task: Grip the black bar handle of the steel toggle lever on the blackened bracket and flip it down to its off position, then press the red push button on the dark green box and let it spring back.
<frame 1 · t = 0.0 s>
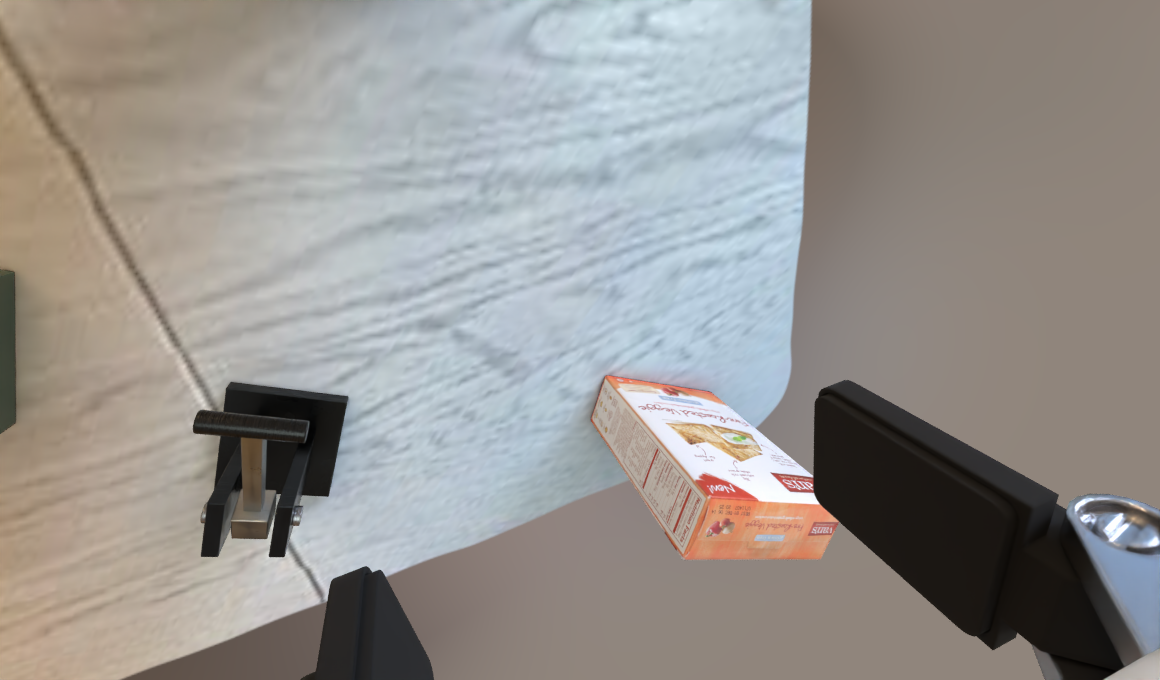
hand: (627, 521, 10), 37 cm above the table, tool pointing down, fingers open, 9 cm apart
switch lever: (254, 478, 32), point 12 cm above the table, hinge at 25.0°
switch bracket: (283, 439, 44), on the table
cracker box: (650, 402, 56), on the table
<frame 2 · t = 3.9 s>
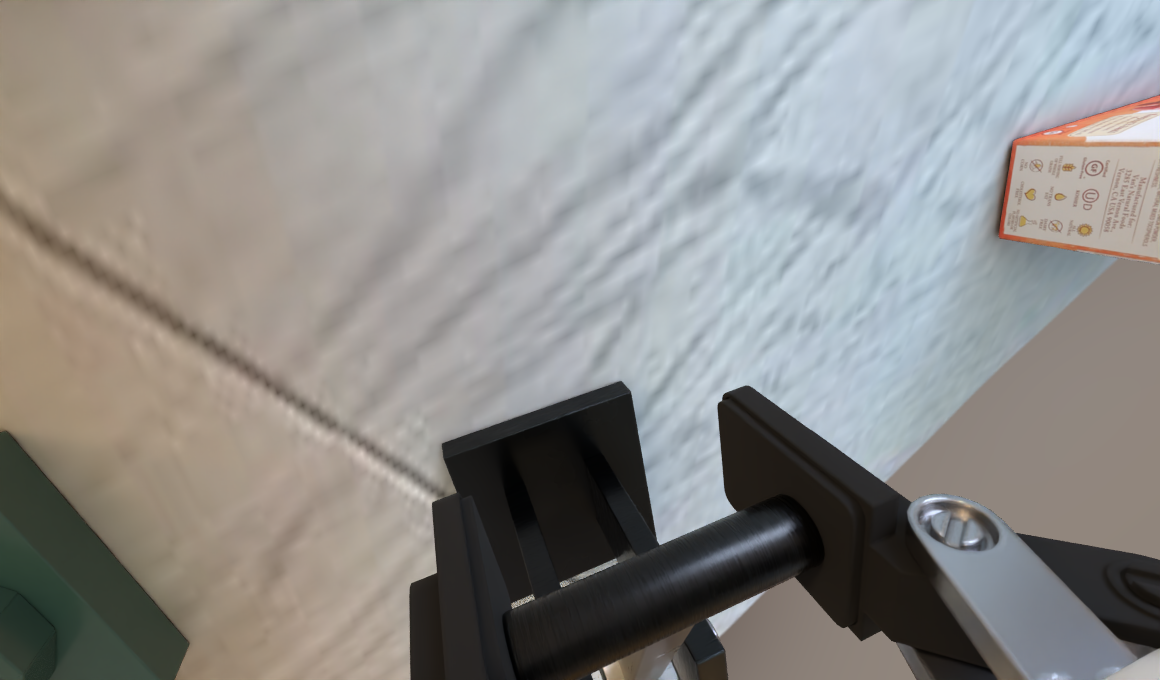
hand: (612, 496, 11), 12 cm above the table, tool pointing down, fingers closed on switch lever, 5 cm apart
switch lever: (645, 647, 13), point 12 cm above the table, hinge at 25.0°, touching gripper
switch bracket: (557, 489, 26), on the table
cracker box: (1085, 158, 29), on the table
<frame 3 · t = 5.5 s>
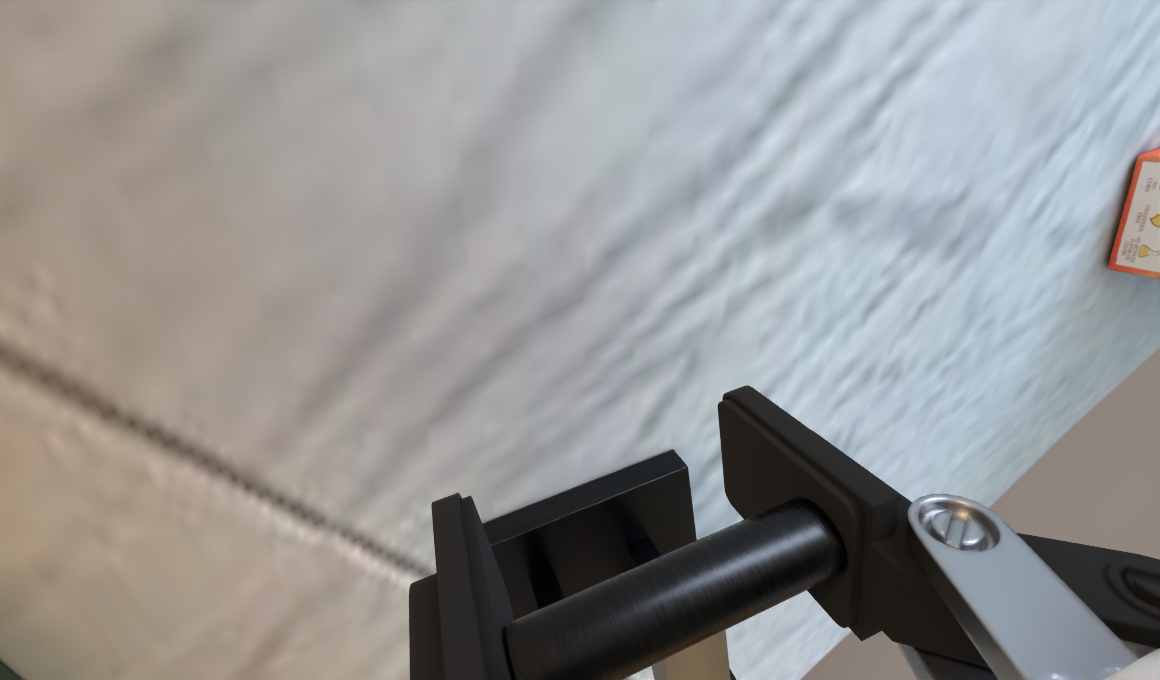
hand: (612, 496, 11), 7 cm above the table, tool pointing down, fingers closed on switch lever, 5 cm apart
switch bracket: (592, 575, 21), on the table
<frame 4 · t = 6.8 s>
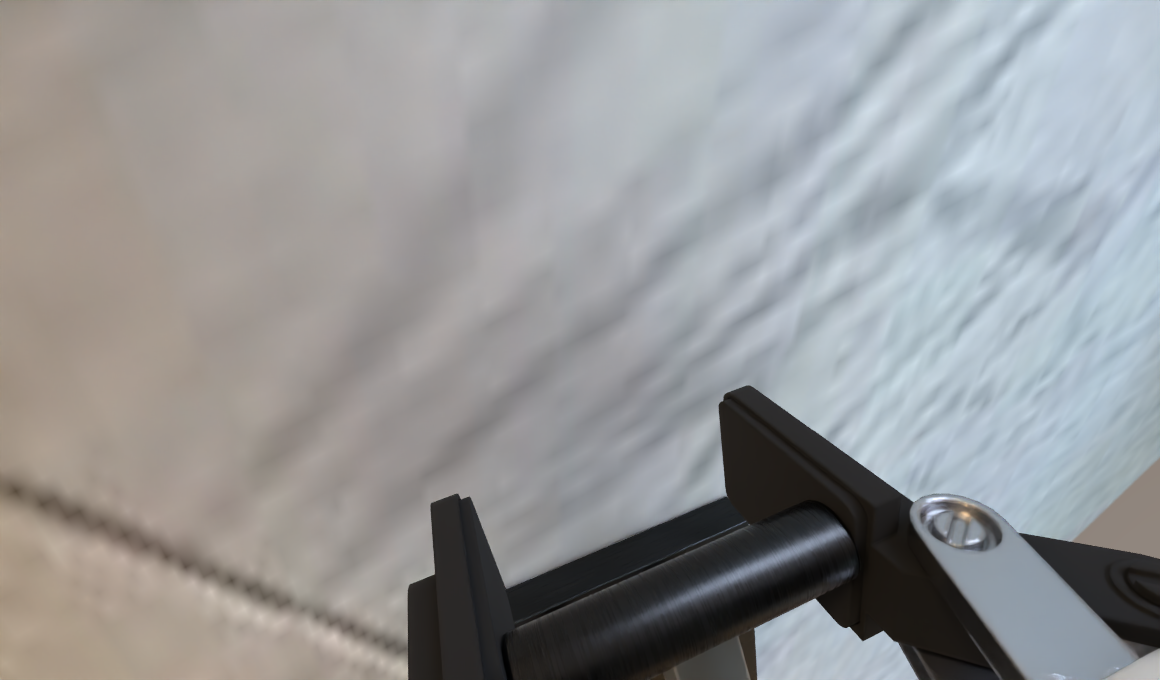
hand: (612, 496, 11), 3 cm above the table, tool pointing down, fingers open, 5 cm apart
switch bracket: (625, 646, 18), on the table
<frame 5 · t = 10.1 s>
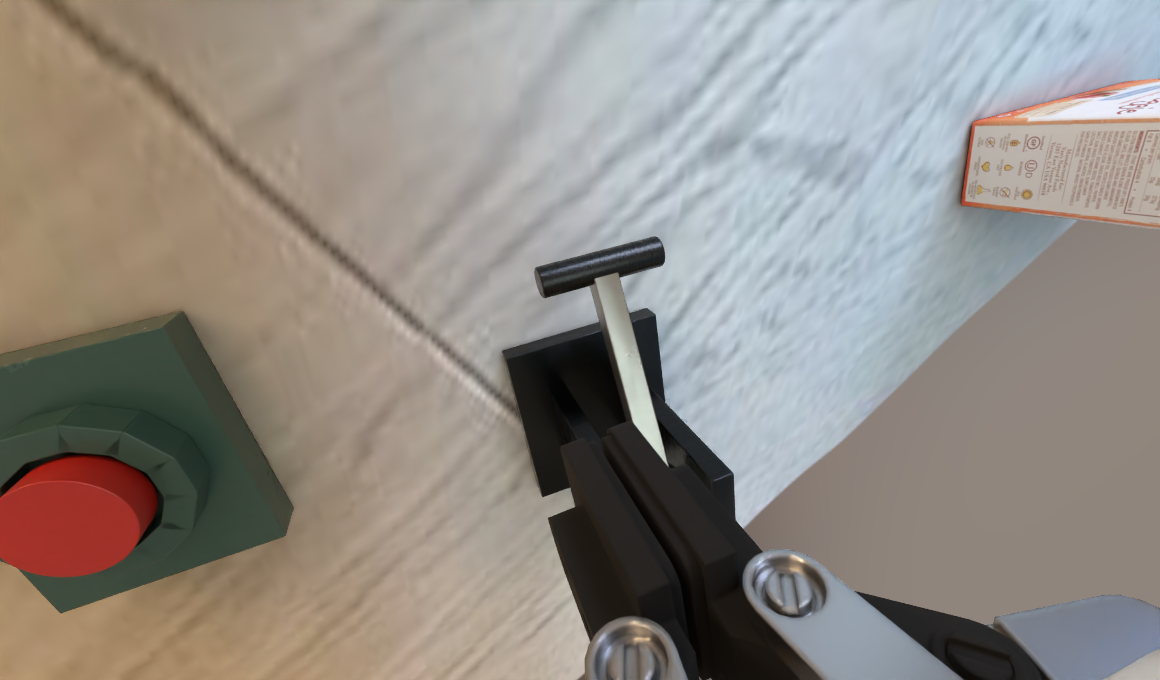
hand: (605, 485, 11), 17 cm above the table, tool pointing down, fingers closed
switch lever: (635, 397, 22), point 8 cm above the table, hinge at -20.1°
switch bracket: (590, 400, 31), on the table
cracker box: (1035, 140, 35), on the table
button box: (131, 452, 24), on the table
red button: (78, 515, 20), point 4 cm above the table, slide at 0.1 cm
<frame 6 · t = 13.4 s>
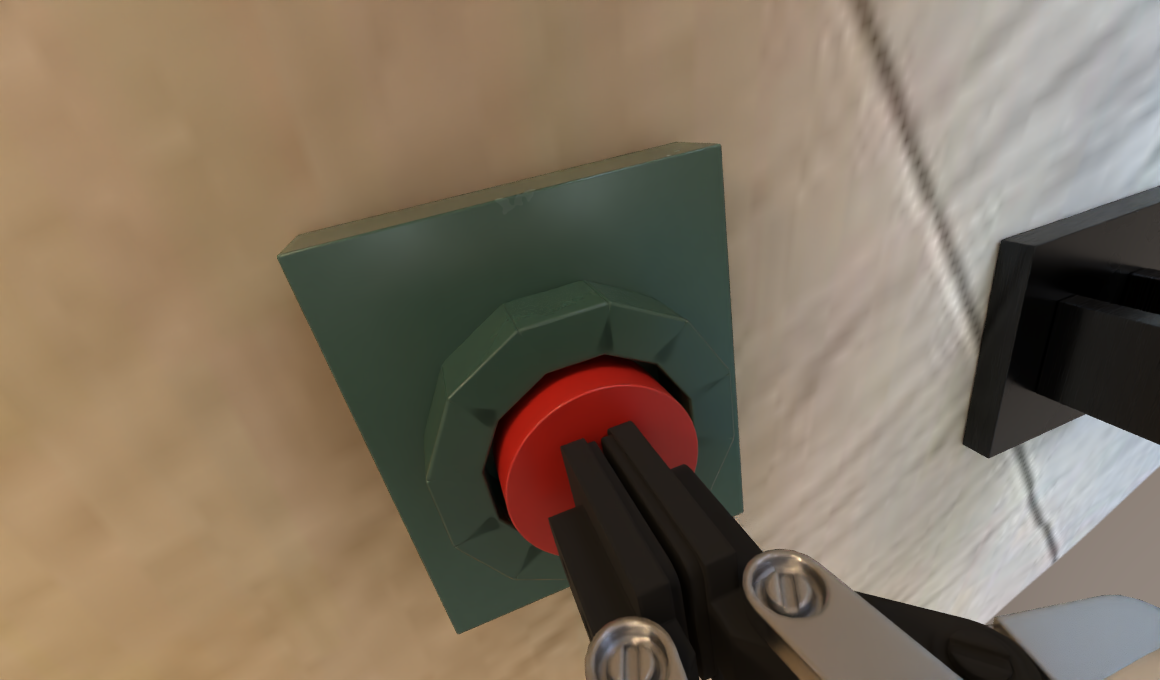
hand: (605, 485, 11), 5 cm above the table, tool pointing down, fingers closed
switch bracket: (1056, 321, 22), on the table
button box: (552, 382, 15), on the table
red button: (594, 454, 12), point 4 cm above the table, slide at -0.5 cm, touching gripper
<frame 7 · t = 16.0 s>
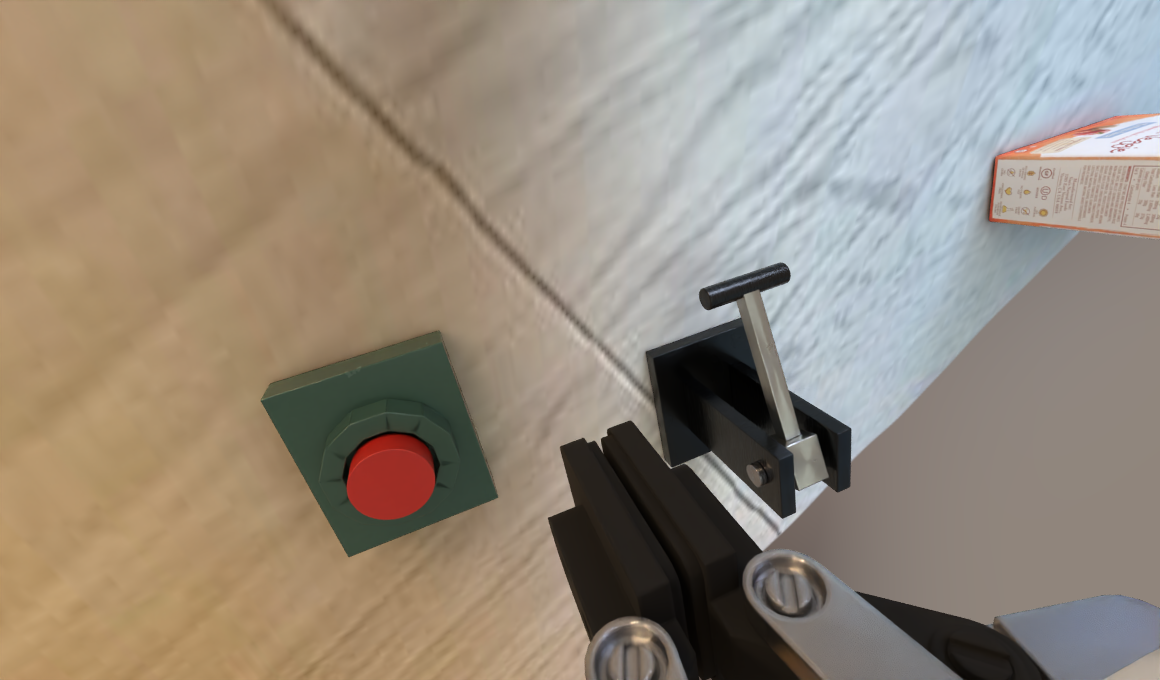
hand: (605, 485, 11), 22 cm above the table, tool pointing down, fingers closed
switch lever: (771, 378, 30), point 8 cm above the table, hinge at -20.1°
switch bracket: (706, 389, 39), on the table
cracker box: (1045, 166, 43), on the table
button box: (393, 436, 32), on the table
red button: (392, 476, 28), point 4 cm above the table, slide at 0.1 cm
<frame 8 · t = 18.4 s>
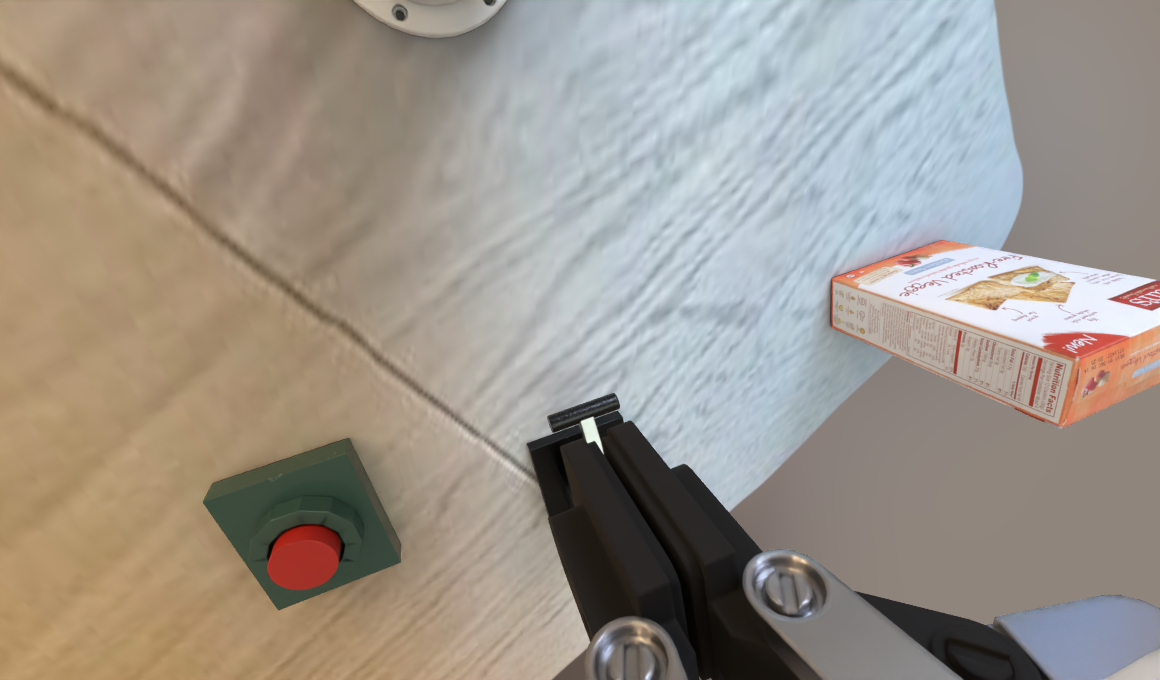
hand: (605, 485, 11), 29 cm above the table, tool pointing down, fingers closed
switch lever: (605, 483, 39), point 8 cm above the table, hinge at -20.1°
switch bracket: (583, 468, 48), on the table
cracker box: (882, 281, 52), on the table
button box: (315, 516, 41), on the table
red button: (305, 556, 37), point 4 cm above the table, slide at 0.1 cm
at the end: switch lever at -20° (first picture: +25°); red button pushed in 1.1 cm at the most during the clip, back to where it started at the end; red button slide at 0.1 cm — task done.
